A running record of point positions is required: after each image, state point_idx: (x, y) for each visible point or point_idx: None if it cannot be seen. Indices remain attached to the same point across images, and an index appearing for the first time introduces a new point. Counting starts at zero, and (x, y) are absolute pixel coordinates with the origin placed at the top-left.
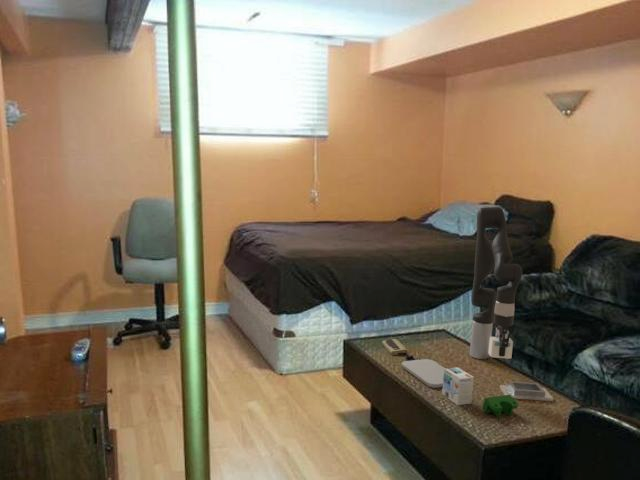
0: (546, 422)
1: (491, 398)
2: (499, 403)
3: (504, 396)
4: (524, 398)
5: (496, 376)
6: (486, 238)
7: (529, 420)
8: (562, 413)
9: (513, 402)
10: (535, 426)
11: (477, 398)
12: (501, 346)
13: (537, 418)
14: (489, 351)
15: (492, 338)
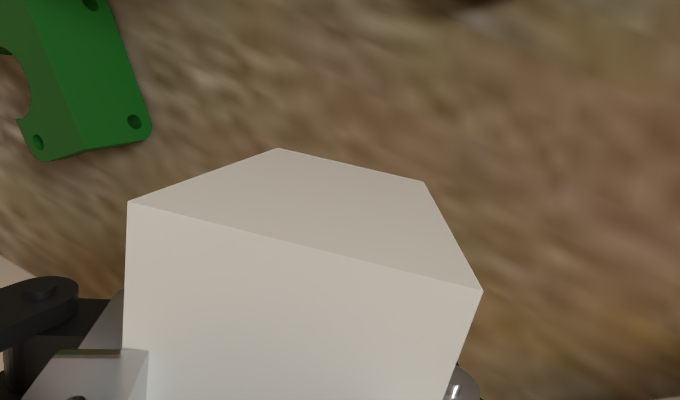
0: (53, 241)
1: (19, 7)
2: (3, 46)
3: (60, 106)
4: None
5: (535, 271)
6: None
7: (56, 182)
8: None
9: (46, 140)
10: (11, 180)
11: (250, 28)
12: (25, 281)
13: (79, 224)
14: (367, 175)
15: (287, 275)
